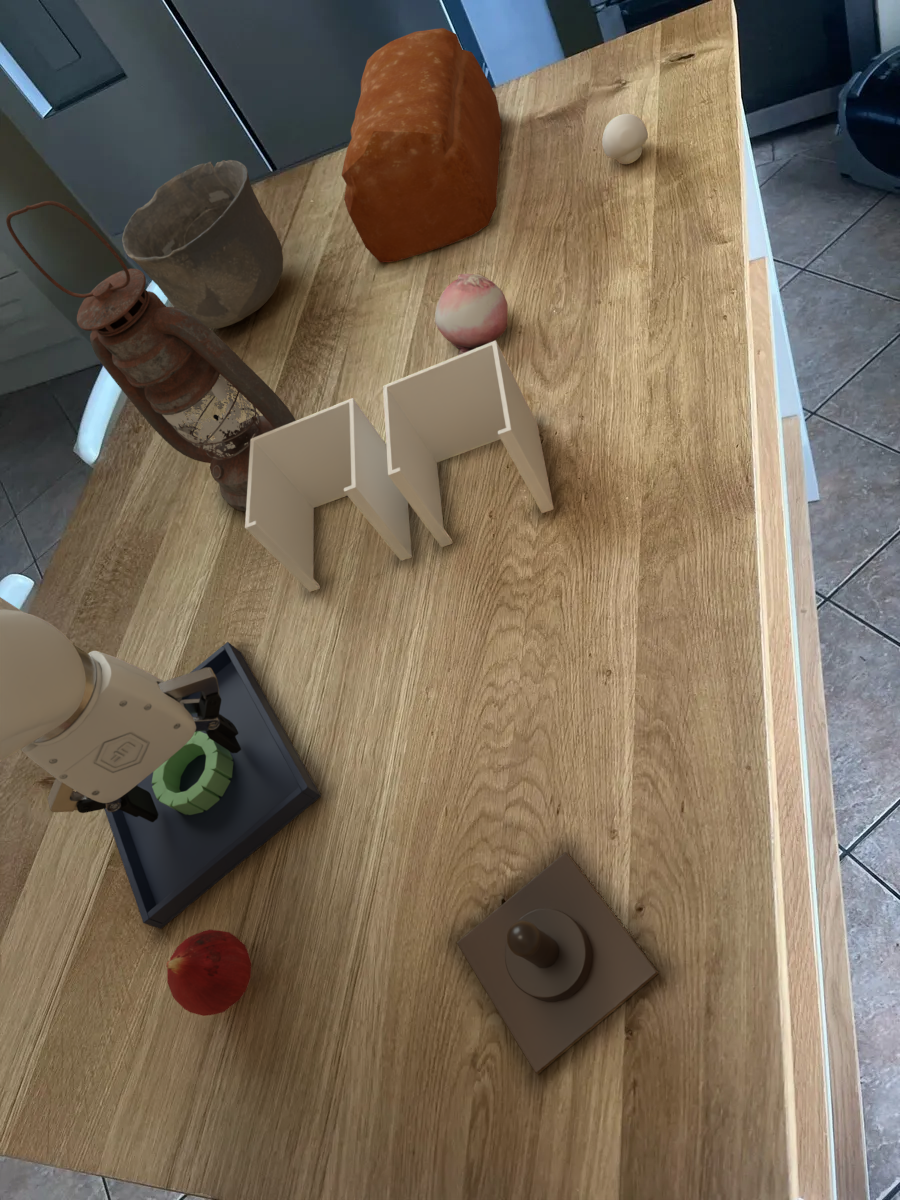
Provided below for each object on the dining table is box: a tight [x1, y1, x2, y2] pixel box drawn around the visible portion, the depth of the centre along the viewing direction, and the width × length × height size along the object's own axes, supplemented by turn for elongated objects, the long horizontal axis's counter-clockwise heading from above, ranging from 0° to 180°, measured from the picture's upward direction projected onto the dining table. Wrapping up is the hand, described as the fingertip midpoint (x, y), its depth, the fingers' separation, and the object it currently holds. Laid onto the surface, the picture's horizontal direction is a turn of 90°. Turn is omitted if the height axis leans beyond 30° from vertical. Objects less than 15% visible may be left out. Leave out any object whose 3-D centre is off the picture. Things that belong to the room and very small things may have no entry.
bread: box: [341, 27, 502, 263], centre depth 109 cm, size 17×24×15 cm
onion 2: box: [434, 273, 509, 356], centre depth 93 cm, size 8×8×7 cm
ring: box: [152, 731, 233, 815], centre depth 80 cm, size 7×7×2 cm
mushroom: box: [601, 113, 649, 165], centre depth 100 cm, size 5×5×5 cm
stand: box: [456, 851, 659, 1075], centre depth 58 cm, size 10×10×7 cm
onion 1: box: [165, 928, 252, 1017], centre depth 66 cm, size 6×6×8 cm
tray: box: [103, 641, 322, 930], centre depth 80 cm, size 17×19×2 cm
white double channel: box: [244, 340, 555, 593], centre depth 83 cm, size 25×11×11 cm, turn 95°
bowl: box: [121, 159, 284, 329], centre depth 113 cm, size 18×18×15 cm
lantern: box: [5, 200, 296, 512], centre depth 86 cm, size 11×16×35 cm
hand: (192, 773), depth 79 cm, fingers open, 8 cm apart
